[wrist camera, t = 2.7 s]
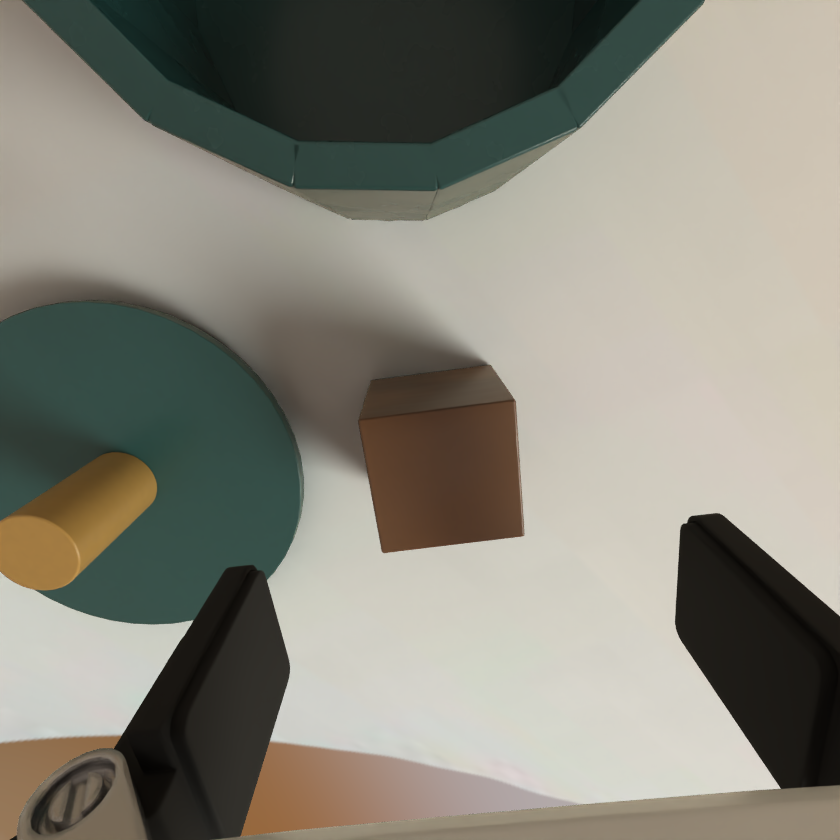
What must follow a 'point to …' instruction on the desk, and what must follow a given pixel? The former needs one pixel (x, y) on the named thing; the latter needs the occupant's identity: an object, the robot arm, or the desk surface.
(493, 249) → the desk surface
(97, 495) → the lid
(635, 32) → the tin
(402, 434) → the block
